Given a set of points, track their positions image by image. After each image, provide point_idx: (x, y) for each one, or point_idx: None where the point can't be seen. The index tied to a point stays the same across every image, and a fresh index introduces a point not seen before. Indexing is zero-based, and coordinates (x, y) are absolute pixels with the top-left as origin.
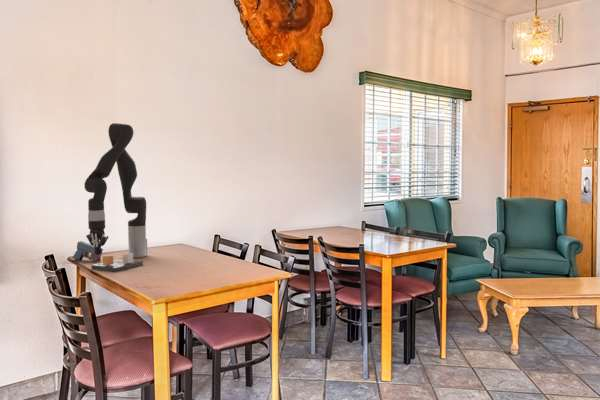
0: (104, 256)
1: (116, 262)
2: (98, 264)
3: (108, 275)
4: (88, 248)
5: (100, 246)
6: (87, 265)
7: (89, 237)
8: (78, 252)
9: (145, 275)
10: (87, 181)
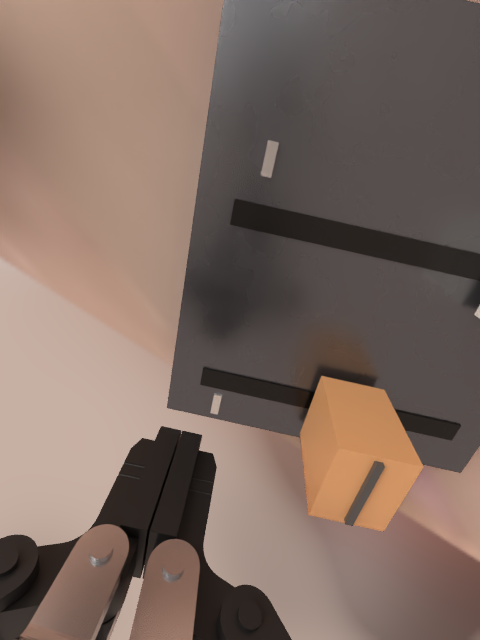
0: (337, 517)
1: (346, 255)
2: (222, 390)
3: (430, 520)
4: None
5: (206, 578)
6: (25, 268)
7: None
8: None
9: None
10: None
